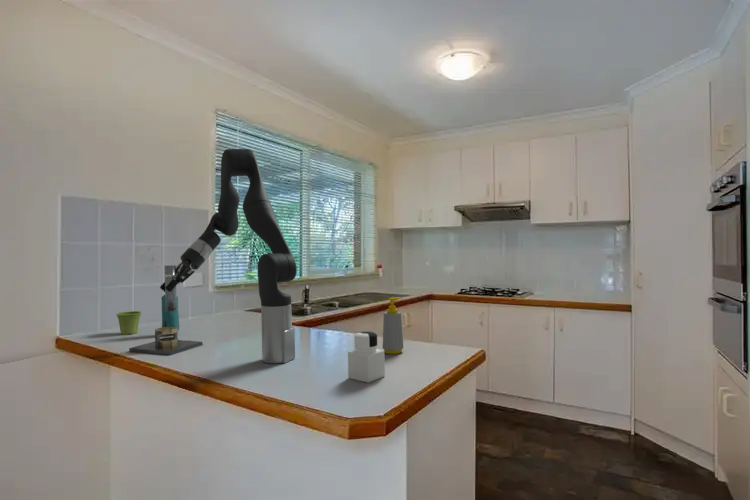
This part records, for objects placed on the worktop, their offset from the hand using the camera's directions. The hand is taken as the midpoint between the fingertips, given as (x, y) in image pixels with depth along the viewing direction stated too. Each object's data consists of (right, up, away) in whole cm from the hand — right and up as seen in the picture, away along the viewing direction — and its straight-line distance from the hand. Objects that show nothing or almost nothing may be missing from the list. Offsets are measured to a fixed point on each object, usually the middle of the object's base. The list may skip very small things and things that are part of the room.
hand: (164, 289), depth 152 cm
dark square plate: (0, -21, +1) cm, 21 cm away
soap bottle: (+80, -20, -10) cm, 83 cm away
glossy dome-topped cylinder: (+1, -8, +2) cm, 8 cm away
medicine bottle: (+72, -20, -37) cm, 83 cm away
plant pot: (-29, -21, +29) cm, 46 cm away
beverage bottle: (-9, -21, +24) cm, 33 cm away
